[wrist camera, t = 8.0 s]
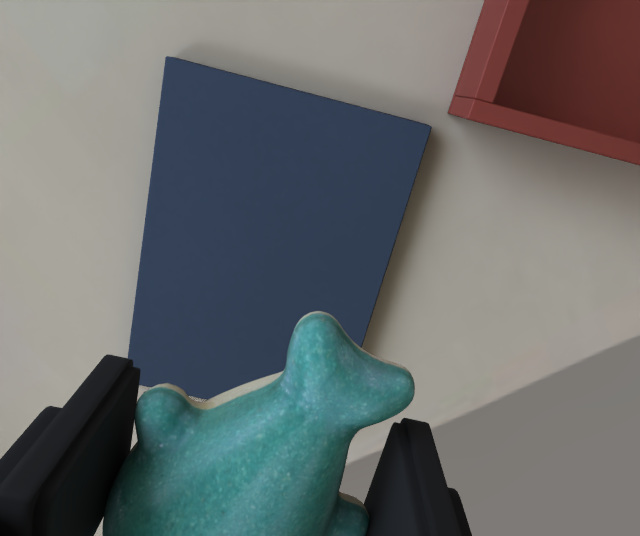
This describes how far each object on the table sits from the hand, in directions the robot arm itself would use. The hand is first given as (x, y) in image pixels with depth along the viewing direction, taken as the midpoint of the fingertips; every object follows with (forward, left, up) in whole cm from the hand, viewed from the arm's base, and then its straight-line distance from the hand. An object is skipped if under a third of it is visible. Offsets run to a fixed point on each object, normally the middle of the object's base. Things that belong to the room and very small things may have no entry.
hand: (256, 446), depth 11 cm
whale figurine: (0, 0, -1) cm, 1 cm away
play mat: (+2, -1, -15) cm, 15 cm away
